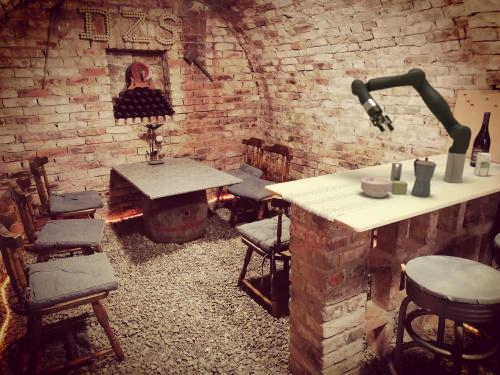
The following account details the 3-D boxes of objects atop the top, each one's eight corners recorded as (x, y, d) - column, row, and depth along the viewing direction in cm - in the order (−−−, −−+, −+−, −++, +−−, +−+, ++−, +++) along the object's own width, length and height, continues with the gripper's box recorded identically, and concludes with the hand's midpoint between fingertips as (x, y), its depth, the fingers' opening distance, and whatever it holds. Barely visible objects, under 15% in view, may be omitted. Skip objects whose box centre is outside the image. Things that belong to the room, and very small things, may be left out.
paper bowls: (366, 189, 193) (368, 175, 191) (395, 194, 184) (396, 179, 182) (355, 195, 182) (356, 180, 179) (384, 201, 172) (386, 185, 170)
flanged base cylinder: (387, 187, 198) (390, 162, 194) (398, 187, 197) (401, 163, 193) (389, 190, 192) (392, 164, 188) (401, 190, 191) (404, 165, 187)
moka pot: (422, 199, 175) (428, 160, 170) (401, 191, 189) (406, 154, 184) (438, 198, 178) (444, 159, 172) (416, 190, 192) (421, 153, 186)
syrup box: (482, 174, 229) (486, 152, 225) (487, 176, 223) (492, 154, 220) (473, 174, 230) (477, 152, 226) (478, 176, 224) (482, 153, 220)
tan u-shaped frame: (382, 185, 200) (383, 175, 198) (401, 186, 199) (402, 176, 197) (389, 194, 184) (390, 182, 183) (409, 195, 183) (410, 183, 181)
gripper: (369, 104, 194) (385, 127, 188) (384, 103, 202) (400, 125, 196) (360, 113, 200) (375, 136, 194) (375, 112, 208) (390, 134, 202)
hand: (388, 130), depth 195 cm, fingers open, 8 cm apart
